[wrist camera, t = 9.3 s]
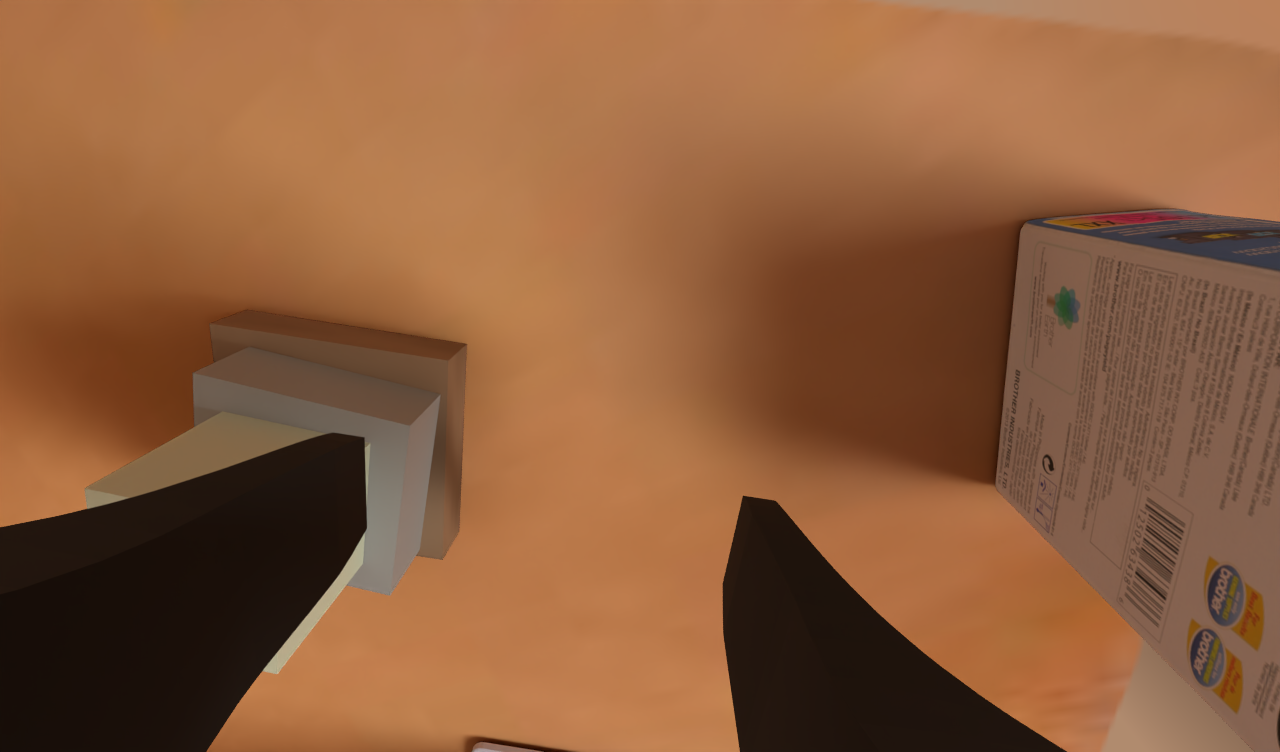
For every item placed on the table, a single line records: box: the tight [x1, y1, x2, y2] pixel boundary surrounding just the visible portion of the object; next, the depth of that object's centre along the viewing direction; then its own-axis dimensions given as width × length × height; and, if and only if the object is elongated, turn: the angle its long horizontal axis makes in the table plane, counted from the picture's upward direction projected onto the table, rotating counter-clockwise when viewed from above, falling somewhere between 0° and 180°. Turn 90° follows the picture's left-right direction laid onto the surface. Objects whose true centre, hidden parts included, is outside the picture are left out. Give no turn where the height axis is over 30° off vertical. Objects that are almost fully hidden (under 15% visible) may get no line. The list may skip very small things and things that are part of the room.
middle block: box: [193, 347, 441, 595], centre depth 20 cm, size 6×6×2 cm
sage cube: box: [85, 411, 370, 674], centre depth 17 cm, size 4×4×4 cm
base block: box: [209, 310, 467, 560], centre depth 22 cm, size 8×8×2 cm
